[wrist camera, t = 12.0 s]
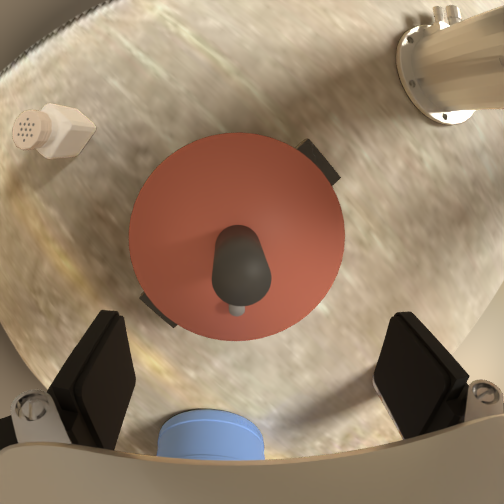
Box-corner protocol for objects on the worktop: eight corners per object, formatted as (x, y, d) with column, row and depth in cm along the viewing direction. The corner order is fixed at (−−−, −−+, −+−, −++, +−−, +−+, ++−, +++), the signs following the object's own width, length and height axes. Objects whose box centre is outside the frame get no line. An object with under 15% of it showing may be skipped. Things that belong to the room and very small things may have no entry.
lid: (136, 136, 22) (91, 130, 14) (341, 142, 23) (394, 140, 15) (146, 323, 27) (121, 384, 19) (322, 323, 28) (353, 382, 20)
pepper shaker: (100, 127, 27) (53, 121, 18) (78, 158, 28) (27, 165, 19) (76, 106, 26) (26, 95, 17) (55, 137, 26) (1, 137, 17)
